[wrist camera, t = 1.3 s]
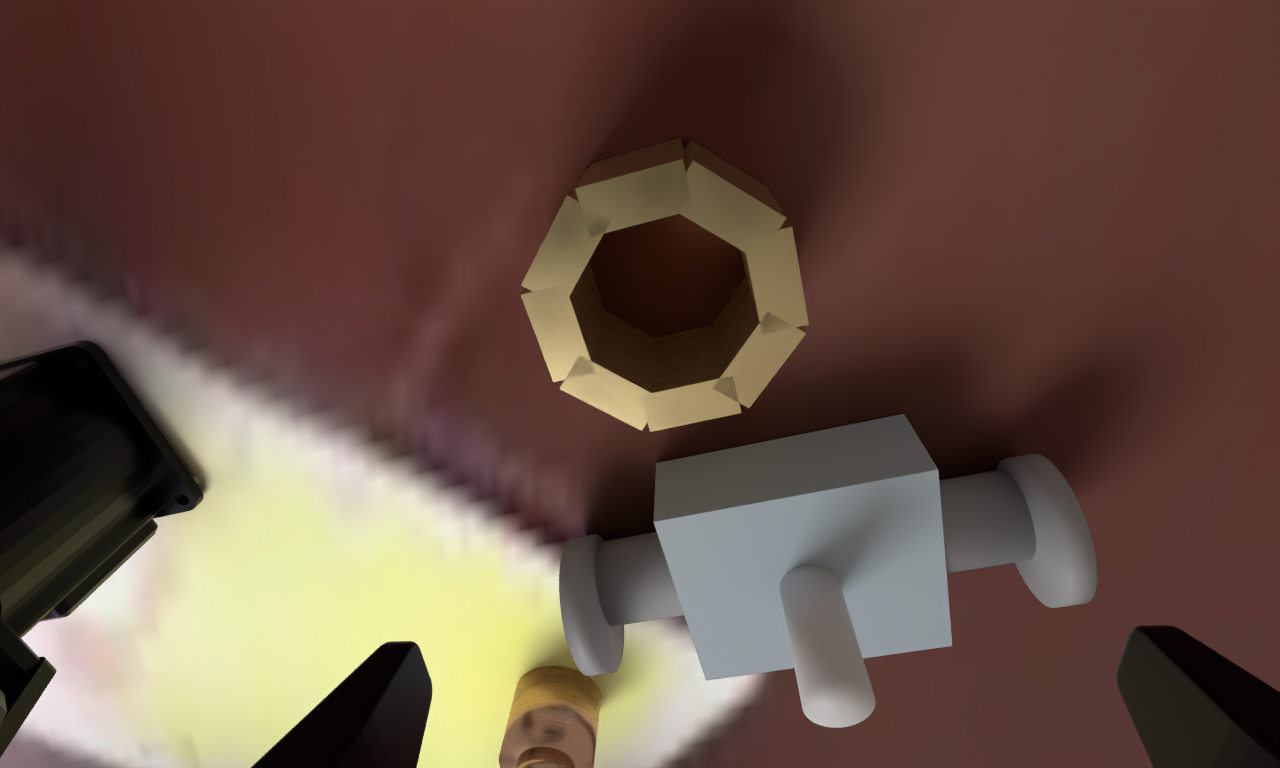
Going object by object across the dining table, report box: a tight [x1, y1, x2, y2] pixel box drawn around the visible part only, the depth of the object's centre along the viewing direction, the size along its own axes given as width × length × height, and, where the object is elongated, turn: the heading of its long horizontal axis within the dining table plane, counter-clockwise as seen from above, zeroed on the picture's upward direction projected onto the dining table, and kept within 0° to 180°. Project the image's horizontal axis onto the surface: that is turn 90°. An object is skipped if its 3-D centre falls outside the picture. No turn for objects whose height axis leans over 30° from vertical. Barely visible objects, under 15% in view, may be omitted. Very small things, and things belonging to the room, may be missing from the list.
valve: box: [559, 414, 1097, 728], centre depth 19 cm, size 15×7×7 cm, turn 105°
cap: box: [499, 666, 601, 768], centre depth 26 cm, size 4×4×4 cm
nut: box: [521, 138, 809, 432], centre depth 17 cm, size 6×6×4 cm
